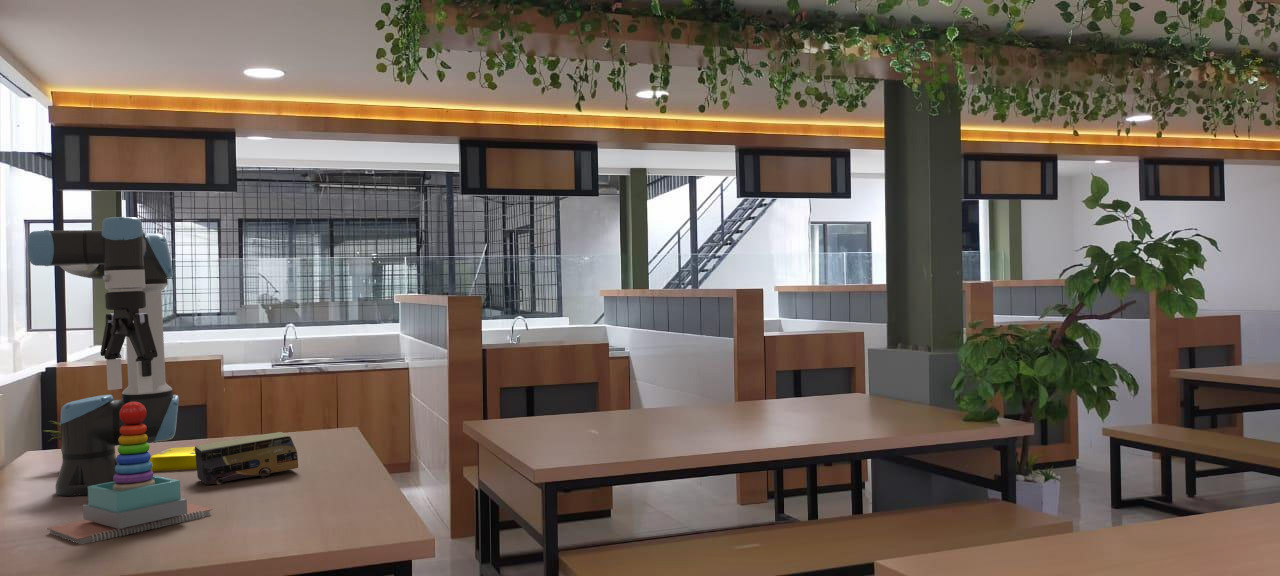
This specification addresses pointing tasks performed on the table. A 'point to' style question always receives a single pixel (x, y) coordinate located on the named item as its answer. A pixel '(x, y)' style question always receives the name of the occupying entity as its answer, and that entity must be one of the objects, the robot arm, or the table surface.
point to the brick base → (135, 514)
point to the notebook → (95, 531)
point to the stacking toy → (133, 450)
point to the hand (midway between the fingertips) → (129, 391)
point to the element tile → (174, 459)
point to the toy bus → (245, 458)
